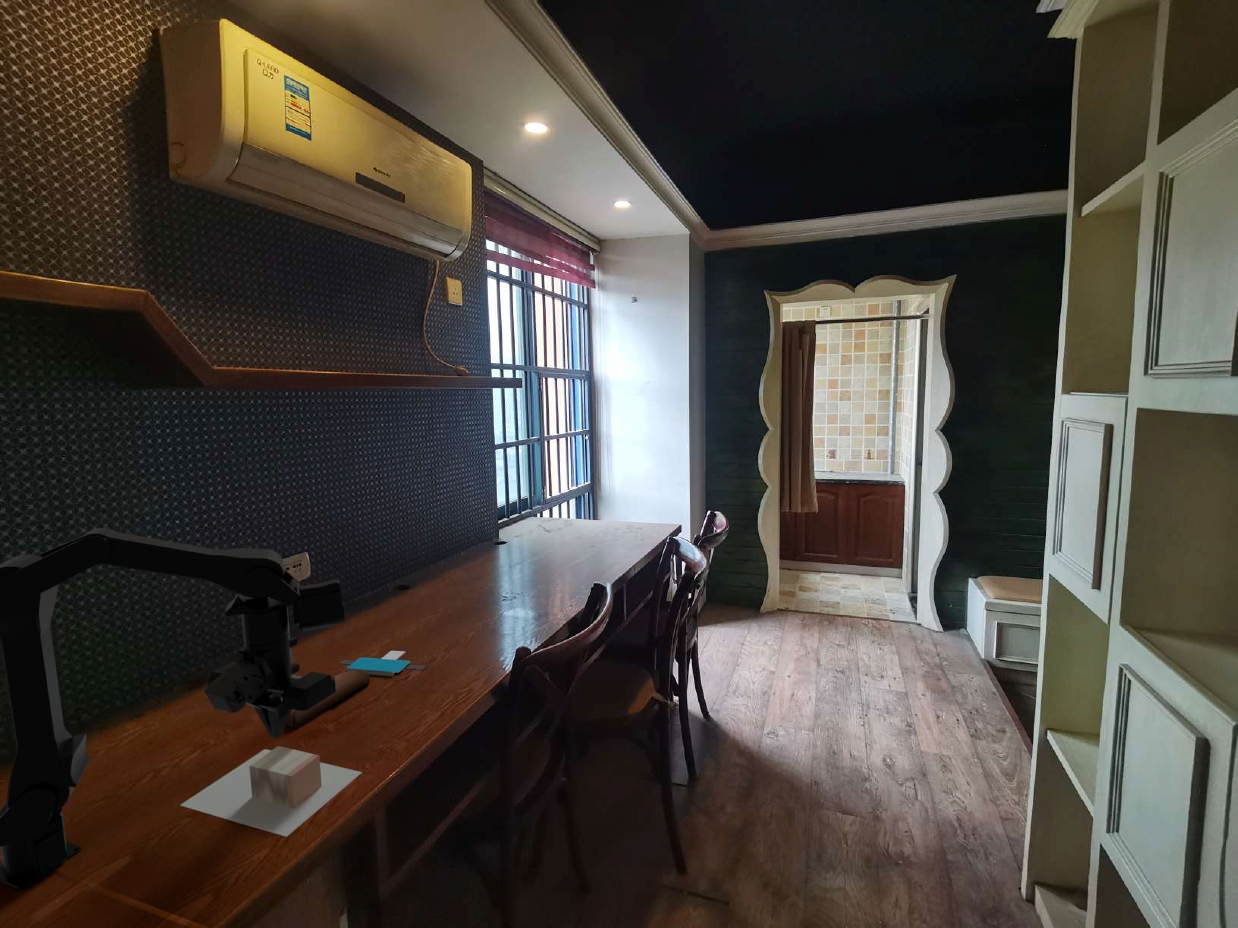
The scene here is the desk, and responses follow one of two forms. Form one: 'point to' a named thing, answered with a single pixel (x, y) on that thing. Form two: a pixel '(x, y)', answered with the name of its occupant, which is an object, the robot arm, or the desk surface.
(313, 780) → the birch block
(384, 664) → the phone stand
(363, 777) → the desk surface
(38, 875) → the robot arm
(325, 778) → the grey mat
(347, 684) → the sunglasses case
